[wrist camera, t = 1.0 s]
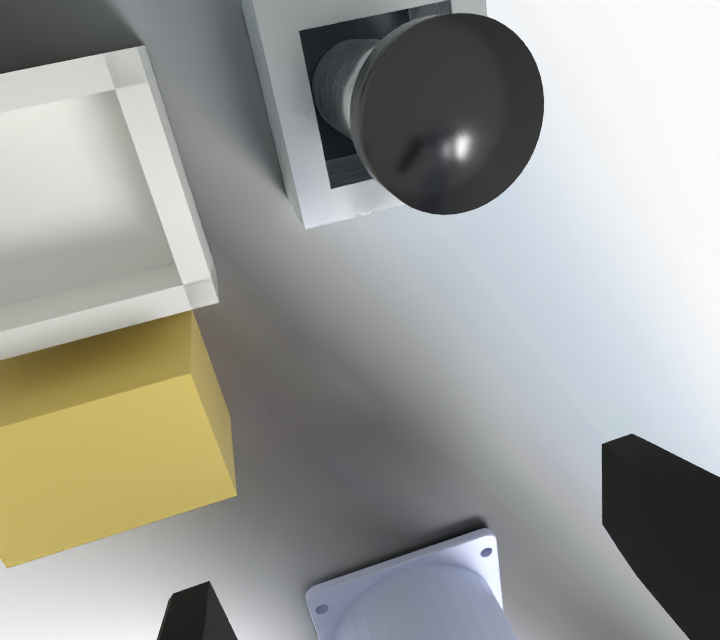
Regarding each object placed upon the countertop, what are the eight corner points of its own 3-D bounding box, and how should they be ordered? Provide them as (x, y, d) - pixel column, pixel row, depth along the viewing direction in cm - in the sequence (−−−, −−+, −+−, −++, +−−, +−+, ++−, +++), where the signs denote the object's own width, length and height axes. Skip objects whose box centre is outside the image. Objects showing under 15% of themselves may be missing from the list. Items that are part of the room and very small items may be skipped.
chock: (229, 412, 20) (237, 495, 16) (42, 468, 19) (7, 568, 15) (191, 306, 18) (190, 373, 14) (-19, 362, 17) (-74, 448, 13)
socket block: (452, 159, 18) (497, 180, 15) (287, 199, 17) (305, 229, 14) (432, -36, 15) (482, -50, 13) (240, 2, 15) (251, -6, 12)
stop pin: (419, 134, 17) (546, 191, 11) (311, 160, 17) (381, 234, 10) (404, 10, 16) (541, -6, 9) (285, 35, 15) (347, 35, 9)
